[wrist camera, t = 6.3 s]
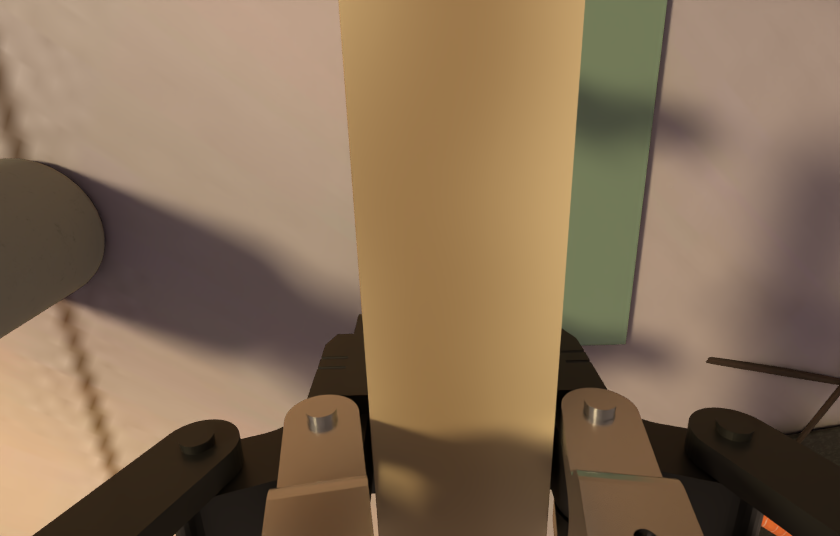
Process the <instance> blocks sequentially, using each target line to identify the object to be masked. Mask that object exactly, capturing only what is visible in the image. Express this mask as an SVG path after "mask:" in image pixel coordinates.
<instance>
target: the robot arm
mask: <svg viewBox="0 0 840 536" xmlns="http://www.w3.org/2000/svg"><path fill="white" fill-rule="evenodd" d="M550 489H551V490H552V493H553V496H554V505H553V529H554V536H760V535H759V532H760V528H761V525H762V521H763V517H764V515H765V516H766V517H767V518H769V519H770V520H772V521H773V522H774V523H776V524H777V525H778V526H780V527H781V528H782V529H784V530H785V531H787V532H788V533H789V534H791V535H792V536H840V466H838V465H837V464H835V463H833V462H831V461H830V460H828V459H826V458H824V457H823V456H821V455H819V454H817V453H816V452H814V451H812V450H811V449H809V448H807V447H805V446H804V445H802V444H800V443H798V442H797V441H795V440H793V439H791V438H790V437H788V436H786V435H785V434H783V433H781V432H779V431H778V430H776V429H774V428H772V427H771V426H769V425H767V424H765V423H764V422H762V421H760V420H758V419H756V418H754V417H752V416H750V415H748V414H745V413H742V412H739V411H735V410H731V409H725V408H704V409H700V410H697V411H695V412H694V413H693V414H692V415H691V416H690V418H689V423H688V428H681V427H675V426H670V425H664V424H658V423H654V422H650V421H646V420H643V419H641V416H640V414H639V411H638V409H637V407H636V406H635V405H634V404H633V403H632V402H631V401H630V400H629V399H627V398H626V397H624V396H622V395H620V394H618V393H615V392H613V391H609V390H607V388H606V387H605V385H604V383H603V382H602V380H601V378H600V377H599V375H598V373H597V372H596V370H595V368H594V367H593V365H592V363H591V362H590V361H589V358H588V356H587V355H586V353H585V352H584V350H583V348H582V346H581V345H580V343H579V341H578V340H577V338H575V337H574V336H573V335H571V334H570V333H568V332H567V331H565V330H564V329H562V328H561V341H560V355H559V369H558V383H557V397H556V411H555V424H554V438H553V452H552V466H551V480H550ZM371 493H375V480H374V466H373V453H372V440H371V426H370V413H369V400H368V386H367V373H366V360H365V347H364V333H363V320H362V314H359V316H358V320H357V324H356V328H355V332H354V334H337V335H336V336H335V337H334V338H333V339H332V340H331V341H330V342H328V343H327V344H326V345H325V348H324V351H323V354H322V359H321V360H320V363H319V366H318V369H317V372H316V374H315V377H314V380H313V383H312V386H311V389H310V392H309V395H308V398H307V399H305V400H303V401H301V402H299V403H298V404H296V405H294V406H293V407H292V408H291V409H290V410H289V411H288V413H287V414H286V416H285V420H284V427H282V428H280V429H277V430H274V431H272V432H268V433H265V434H261V435H256V436H252V437H248V438H244V439H240V434H239V430H238V428H237V427H236V426H235V425H234V424H232V423H230V422H228V421H224V420H216V419H214V420H203V421H198V422H194V423H191V424H188V425H186V426H183V427H181V428H179V429H177V430H175V431H174V432H172V433H171V434H169V435H168V436H167V437H165V438H164V439H163V440H161V441H160V442H158V443H157V444H156V445H154V446H153V447H152V448H150V449H149V450H148V451H146V452H145V453H144V454H142V455H141V456H140V457H138V458H137V459H135V460H134V461H133V462H131V463H130V464H129V465H127V466H126V467H125V468H123V469H122V470H121V471H119V472H118V473H117V474H115V475H114V476H113V477H111V478H110V479H108V480H107V481H106V482H104V483H103V484H102V485H100V486H99V487H98V488H96V489H95V490H94V491H92V492H91V493H90V494H88V495H87V496H85V497H84V498H83V499H81V500H80V501H79V502H77V503H76V504H75V505H73V506H72V507H71V508H69V509H68V510H67V511H65V512H64V513H63V514H61V515H60V516H58V517H57V518H56V519H54V520H53V521H52V522H50V523H49V524H48V525H46V526H45V527H44V528H42V529H41V530H40V531H38V532H37V533H35V534H34V535H33V536H173V535H174V534H176V536H374V533H373V524H372V515H371V506H370V501H371Z"/></svg>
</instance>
